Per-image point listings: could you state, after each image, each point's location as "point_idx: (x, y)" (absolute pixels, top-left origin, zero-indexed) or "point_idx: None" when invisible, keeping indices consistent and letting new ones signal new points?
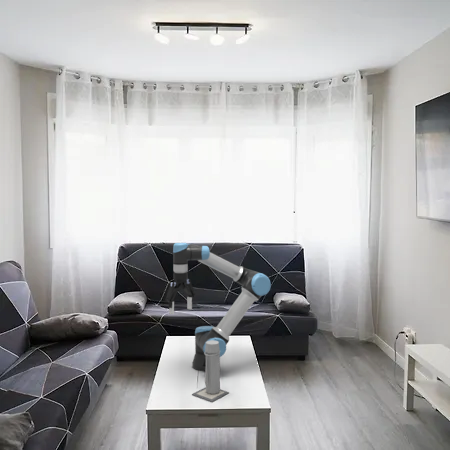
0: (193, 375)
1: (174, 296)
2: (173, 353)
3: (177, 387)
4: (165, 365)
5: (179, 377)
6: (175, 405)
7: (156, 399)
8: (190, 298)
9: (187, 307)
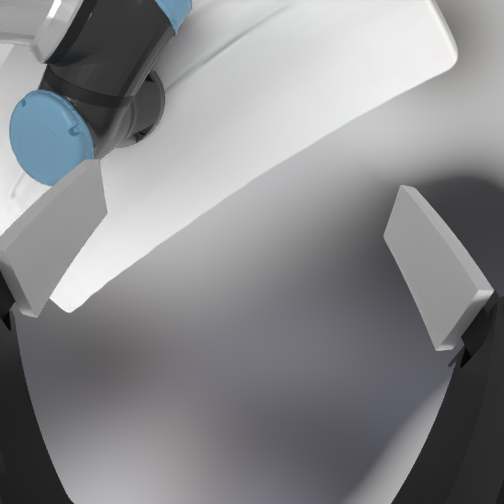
0: (208, 76)
1: (500, 377)
2: (120, 247)
3: (322, 60)
4: (199, 205)
5: (251, 103)
6: (420, 11)
7: (418, 74)
8: (17, 246)
9: (100, 218)
